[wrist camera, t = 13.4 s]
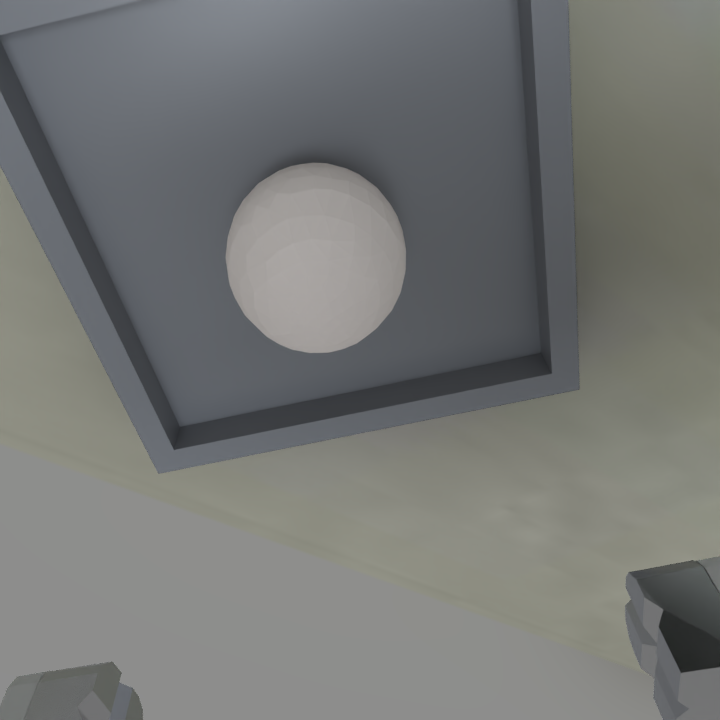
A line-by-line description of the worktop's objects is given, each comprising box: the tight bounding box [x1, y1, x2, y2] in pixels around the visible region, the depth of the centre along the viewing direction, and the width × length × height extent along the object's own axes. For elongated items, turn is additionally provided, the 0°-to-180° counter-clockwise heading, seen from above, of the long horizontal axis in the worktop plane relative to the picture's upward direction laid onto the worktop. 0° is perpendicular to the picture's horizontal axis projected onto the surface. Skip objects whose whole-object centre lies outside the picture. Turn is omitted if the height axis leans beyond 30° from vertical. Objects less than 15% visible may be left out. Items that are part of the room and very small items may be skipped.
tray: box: [0, 0, 579, 474], centre depth 26 cm, size 20×20×2 cm
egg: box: [226, 163, 406, 353], centre depth 23 cm, size 6×6×8 cm
